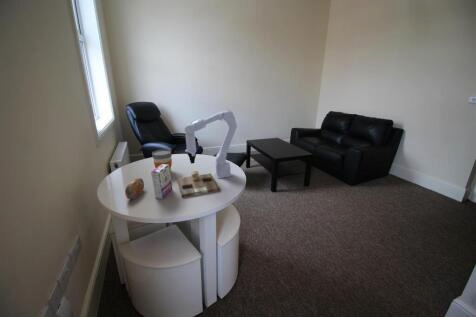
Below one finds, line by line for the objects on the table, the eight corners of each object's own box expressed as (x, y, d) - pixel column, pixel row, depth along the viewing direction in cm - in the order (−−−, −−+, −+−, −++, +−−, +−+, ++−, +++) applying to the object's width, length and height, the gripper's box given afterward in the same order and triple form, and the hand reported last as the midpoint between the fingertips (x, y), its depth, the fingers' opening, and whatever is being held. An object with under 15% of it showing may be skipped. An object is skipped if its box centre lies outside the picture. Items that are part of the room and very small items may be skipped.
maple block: (197, 176, 142) (197, 171, 141) (199, 179, 138) (198, 173, 137) (191, 177, 141) (191, 171, 139) (192, 180, 137) (192, 174, 136)
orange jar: (176, 169, 158) (174, 150, 153) (168, 176, 147) (165, 155, 141) (160, 168, 160) (157, 149, 155) (151, 175, 149) (148, 154, 144)
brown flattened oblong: (131, 202, 117) (128, 188, 114) (125, 201, 117) (123, 187, 114) (145, 188, 131) (143, 176, 128) (140, 188, 131) (138, 175, 128)
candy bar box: (165, 189, 130) (161, 163, 125) (172, 189, 129) (169, 164, 124) (154, 198, 120) (150, 171, 114) (163, 199, 119) (159, 172, 113)
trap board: (210, 176, 147) (210, 173, 147) (219, 190, 128) (219, 187, 127) (177, 181, 140) (177, 178, 139) (181, 197, 121) (181, 194, 120)
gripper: (182, 140, 143) (184, 160, 148) (186, 147, 130) (188, 167, 135) (193, 139, 146) (195, 158, 150) (197, 145, 133) (199, 166, 138)
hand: (192, 163), depth 143 cm, fingers closed
